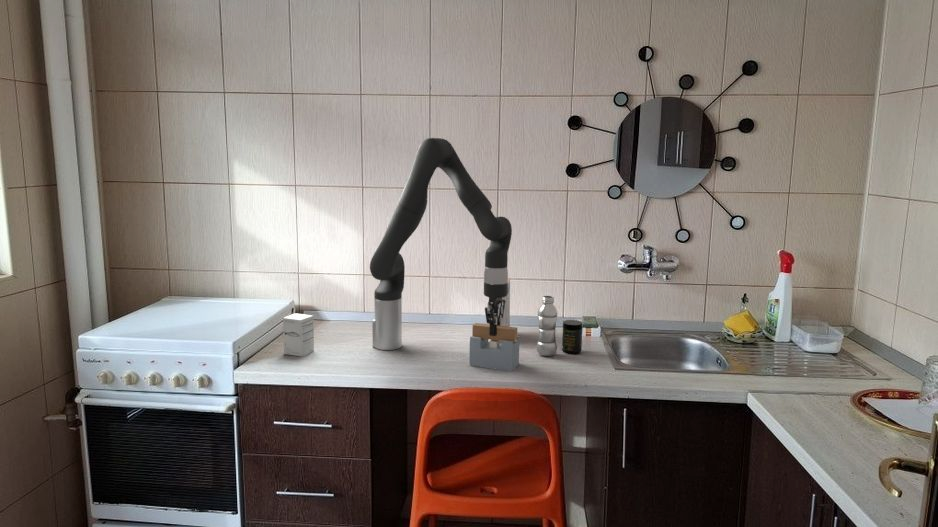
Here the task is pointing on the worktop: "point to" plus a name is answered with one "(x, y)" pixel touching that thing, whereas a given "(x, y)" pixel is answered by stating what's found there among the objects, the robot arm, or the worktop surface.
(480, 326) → the frame bar
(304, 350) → the supplement box
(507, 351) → the notched gray block
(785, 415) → the worktop surface
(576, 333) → the supplement container
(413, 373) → the worktop surface
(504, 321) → the cracker box
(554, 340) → the plastic bottle
